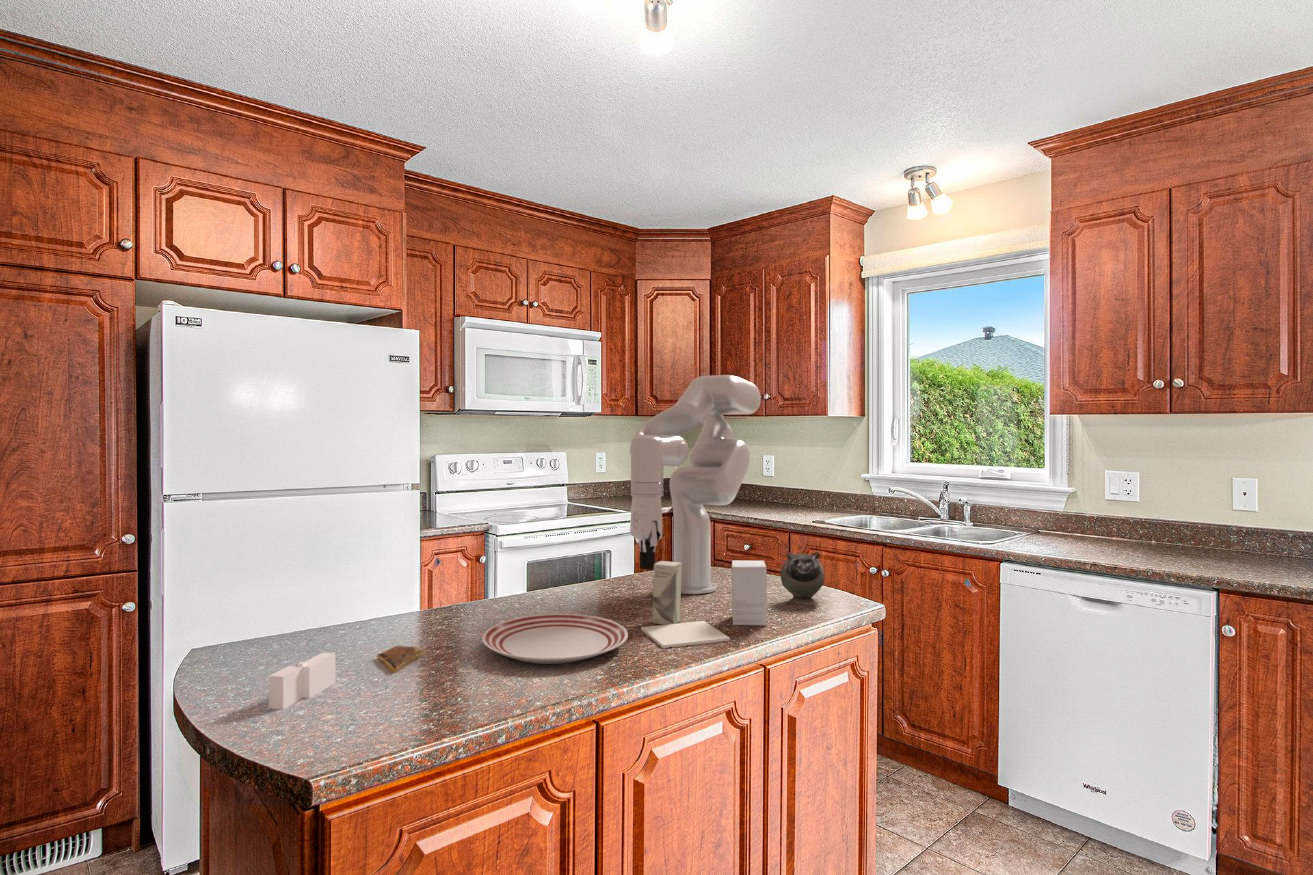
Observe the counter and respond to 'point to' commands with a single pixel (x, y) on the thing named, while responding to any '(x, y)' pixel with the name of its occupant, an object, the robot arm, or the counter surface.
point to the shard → (400, 656)
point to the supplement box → (749, 592)
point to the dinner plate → (554, 637)
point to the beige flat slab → (684, 634)
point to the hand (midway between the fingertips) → (647, 568)
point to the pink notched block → (301, 680)
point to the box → (666, 592)
